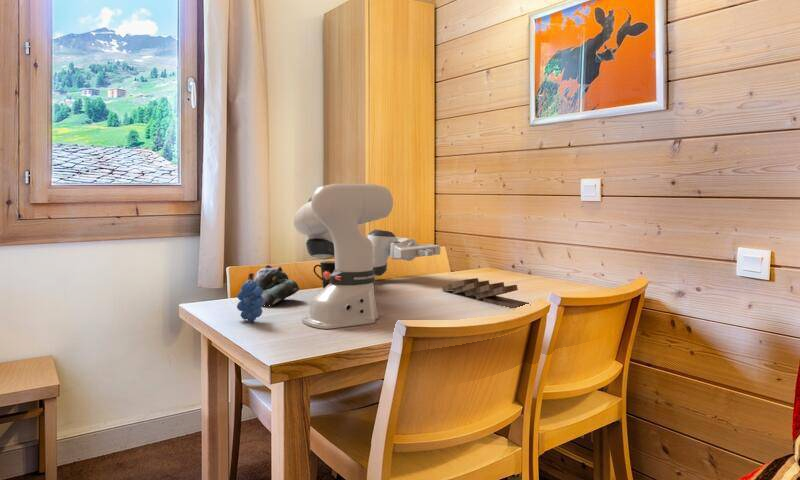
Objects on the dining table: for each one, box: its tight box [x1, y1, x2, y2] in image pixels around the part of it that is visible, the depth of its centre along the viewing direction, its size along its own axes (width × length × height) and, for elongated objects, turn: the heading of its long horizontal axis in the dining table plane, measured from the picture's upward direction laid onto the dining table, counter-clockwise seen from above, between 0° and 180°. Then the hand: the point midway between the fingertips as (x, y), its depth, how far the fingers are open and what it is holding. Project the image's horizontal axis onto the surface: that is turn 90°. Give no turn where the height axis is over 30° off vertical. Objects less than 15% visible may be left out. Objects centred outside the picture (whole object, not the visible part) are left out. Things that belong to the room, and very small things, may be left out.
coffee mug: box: [313, 260, 335, 290], centre depth 208 cm, size 12×9×10 cm
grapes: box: [236, 281, 265, 323], centre depth 159 cm, size 12×7×12 cm, turn 50°
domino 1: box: [441, 277, 480, 292], centre depth 198 cm, size 6×2×15 cm
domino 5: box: [482, 295, 530, 309], centre depth 182 cm, size 6×2×15 cm
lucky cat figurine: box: [244, 265, 300, 307], centre depth 184 cm, size 15×12×14 cm
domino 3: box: [464, 281, 505, 297], centre depth 188 cm, size 6×2×15 cm
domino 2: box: [451, 280, 490, 295], centre depth 193 cm, size 6×2×15 cm
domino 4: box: [474, 284, 519, 300], centre depth 183 cm, size 6×2×15 cm
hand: (430, 253), depth 213 cm, fingers closed
